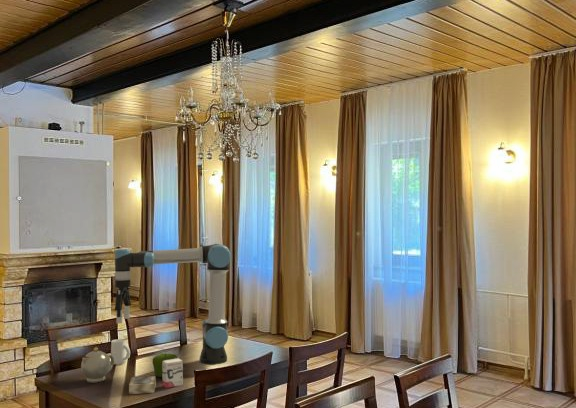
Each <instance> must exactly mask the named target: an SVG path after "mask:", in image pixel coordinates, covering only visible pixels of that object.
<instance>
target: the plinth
mask: <svg viewBox="0 0 576 408" xmlns="http://www.w3.org/2000/svg"><path fill="white" fill-rule="evenodd" d="M156 376H157V375H149V376H148V375H146V376H134V377H133V376H132V377H131V379H130V381H129V384H128V394H129V395H136V394H137V395H139V394H154V393H155V390H156V385H157V381H156V380H157V379H156Z"/></svg>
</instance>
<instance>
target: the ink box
mask: <svg viewBox="0 0 576 408" xmlns="http://www.w3.org/2000/svg"><path fill="white" fill-rule="evenodd" d="M183 364H184V361H183V359H180V358H179V357H177V359H170V360H165V361H162V387H164V388H165V389H168V388H175V387H180V386H183V384H184V383H183V381H184V377H183V375H184V374H183V373H184V372H183V371H184V367H183Z"/></svg>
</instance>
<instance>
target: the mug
mask: <svg viewBox="0 0 576 408" xmlns="http://www.w3.org/2000/svg"><path fill="white" fill-rule="evenodd" d="M110 350H111V351H110V354H111V355H112V356H113V358H114V365H122V364H126V363H127V360H128V359H129V358H130V356H131V349H130V347H129V346H128V345H127V339H124V338H118V339H112V340H111V346H110Z"/></svg>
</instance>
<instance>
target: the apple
mask: <svg viewBox="0 0 576 408" xmlns="http://www.w3.org/2000/svg"><path fill="white" fill-rule="evenodd" d="M177 358H178V356H177V355H176V354H174V353H160V354H157V355H155V356H154V357H153V358H152V365H153V371H154V374H155V375H154V376H157V377H159V378H162V361H165V360H170V359H177Z"/></svg>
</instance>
